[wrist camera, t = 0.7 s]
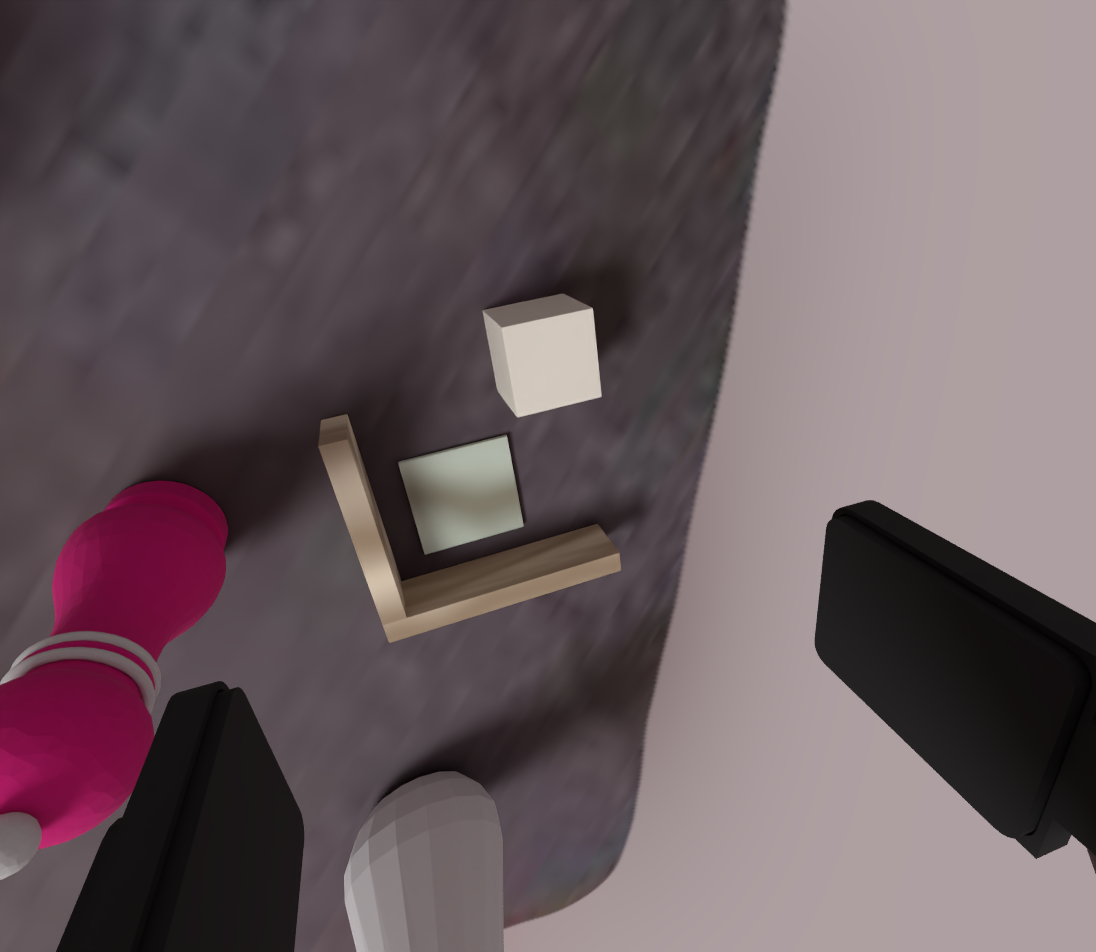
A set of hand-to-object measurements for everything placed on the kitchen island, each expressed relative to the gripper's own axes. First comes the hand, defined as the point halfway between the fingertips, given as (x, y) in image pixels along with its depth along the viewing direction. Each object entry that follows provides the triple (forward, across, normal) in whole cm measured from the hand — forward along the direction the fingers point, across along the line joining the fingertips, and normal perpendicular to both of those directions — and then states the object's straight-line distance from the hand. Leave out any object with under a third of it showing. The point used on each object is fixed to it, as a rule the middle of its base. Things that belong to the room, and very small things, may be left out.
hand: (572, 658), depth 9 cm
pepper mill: (+28, +16, +8) cm, 34 cm away
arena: (+28, -2, +10) cm, 30 cm away
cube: (+28, -6, +2) cm, 29 cm away
